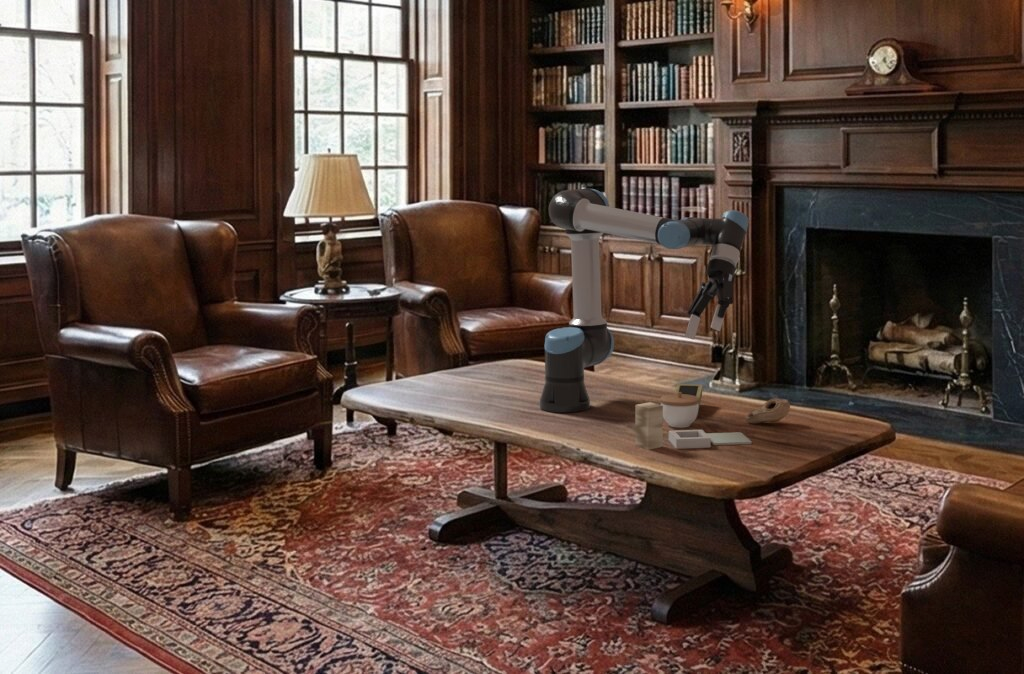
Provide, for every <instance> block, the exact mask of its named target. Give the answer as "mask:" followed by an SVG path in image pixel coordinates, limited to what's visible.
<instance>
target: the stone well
mask: <svg viewBox="0 0 1024 674" xmlns="http://www.w3.org/2000/svg"><path fill="white" fill-rule="evenodd" d="M706 433H707V432H705V431H704V430H703V429H682V430H681V429H680V430H676V429H675V430H668V441H669V442H670V443H671V445H673V447H674V448H675V449H677V450H678V449H682V450H683V449H705V448H706V449H707V448H711V444H712V443H711V438H710V437H709V436H708V435H707V434H706Z"/></svg>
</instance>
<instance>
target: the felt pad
mask: <svg viewBox="0 0 1024 674" xmlns="http://www.w3.org/2000/svg"><path fill="white" fill-rule="evenodd" d="M705 433H706V434H707V435H708V436H709V437H710V438H711V444H712V445H714V446H731V445H732V446H733V445H752V440H751V439H749V438H748V437H747V436H746V435H745V434H744V433H742V431H741V432H740V431H736V432H735V431H734V432H712V433H711V432H710V433H708V432H705Z"/></svg>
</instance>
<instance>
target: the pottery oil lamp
mask: <svg viewBox="0 0 1024 674" xmlns="http://www.w3.org/2000/svg"><path fill="white" fill-rule="evenodd" d="M790 409H791V404H790V403H789V400H788V399H786V398H785V399H782V398H777V397H775V398H771V399H769V400H768V401H766V402H765V403H764V404H763V405H762V406H759V407H758V408H756V409H754V410H752V411H751V412H748V414H746V416H745V421H746V422H747V423H748V424H754V425H755V424H762V423H777V422H779V421H781V420H782V419H784V418H785V417H786V416H787V415H788V414H789V412H790Z"/></svg>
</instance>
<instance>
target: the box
mask: <svg viewBox="0 0 1024 674" xmlns="http://www.w3.org/2000/svg"><path fill="white" fill-rule="evenodd" d="M703 387H704V385H703V384H695V383H692V384H689V383H688V384H687V383H686V384H685V383H677V384H676V387H675V391H674V394H678V392H682V394H687V395H693V396H696V397H698V398H699V407H698V411H699V409H700V405H701V401H702V397H703V389H704V388H703ZM698 415H699V414H697V417H696V419H697V418H698Z"/></svg>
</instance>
